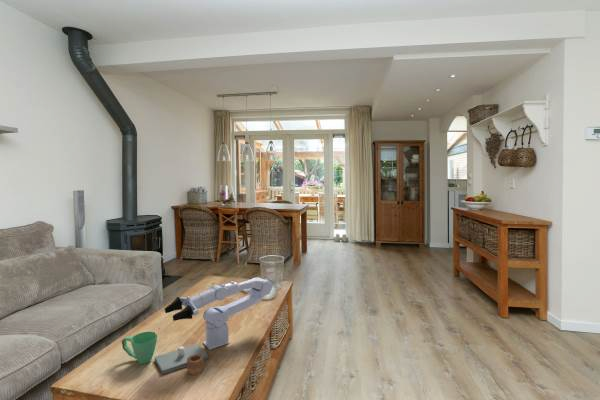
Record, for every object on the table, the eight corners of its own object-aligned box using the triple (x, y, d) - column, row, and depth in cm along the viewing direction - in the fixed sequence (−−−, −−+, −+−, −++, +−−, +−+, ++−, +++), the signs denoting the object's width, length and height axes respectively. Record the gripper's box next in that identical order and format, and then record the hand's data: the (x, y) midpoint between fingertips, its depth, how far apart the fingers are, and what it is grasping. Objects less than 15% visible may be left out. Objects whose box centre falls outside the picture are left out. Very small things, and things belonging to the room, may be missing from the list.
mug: (162, 355, 137) (162, 332, 137) (149, 368, 128) (148, 344, 127) (130, 352, 139) (130, 330, 139) (115, 365, 130) (114, 341, 129)
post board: (197, 346, 144) (197, 335, 144) (207, 358, 135) (207, 347, 134) (154, 360, 133) (154, 348, 133) (162, 374, 124) (162, 362, 123)
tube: (199, 364, 130) (199, 352, 130) (205, 371, 126) (204, 359, 126) (186, 369, 127) (185, 357, 127) (190, 376, 123) (190, 363, 122)
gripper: (190, 286, 145) (160, 299, 135) (207, 298, 135) (175, 313, 125) (192, 300, 146) (162, 313, 137) (208, 313, 136) (177, 328, 127)
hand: (169, 314), depth 131 cm, fingers open, 7 cm apart
